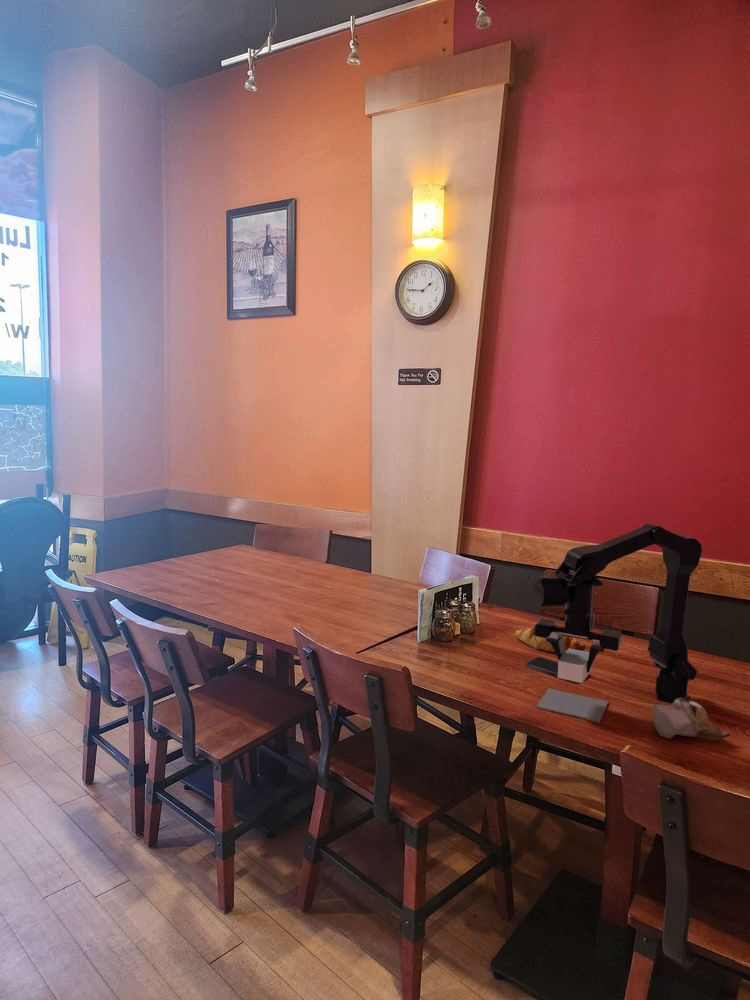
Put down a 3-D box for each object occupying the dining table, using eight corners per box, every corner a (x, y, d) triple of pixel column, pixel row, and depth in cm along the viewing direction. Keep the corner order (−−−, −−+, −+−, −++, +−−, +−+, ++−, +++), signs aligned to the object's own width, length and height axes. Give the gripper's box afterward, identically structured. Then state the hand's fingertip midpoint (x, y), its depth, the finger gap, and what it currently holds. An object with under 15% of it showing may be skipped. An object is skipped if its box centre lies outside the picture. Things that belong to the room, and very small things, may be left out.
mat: (607, 703, 154) (608, 701, 154) (599, 722, 144) (599, 720, 144) (548, 689, 161) (548, 688, 161) (536, 707, 151) (536, 706, 151)
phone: (575, 681, 164) (524, 663, 175) (575, 685, 164) (523, 667, 175) (590, 672, 170) (539, 655, 180) (590, 676, 170) (539, 659, 180)
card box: (582, 683, 146) (583, 666, 146) (557, 677, 149) (558, 660, 148) (591, 669, 154) (592, 653, 153) (568, 664, 157) (569, 648, 156)
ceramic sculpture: (642, 686, 143) (705, 687, 145) (636, 723, 144) (699, 723, 146) (669, 709, 133) (737, 710, 135) (663, 748, 134) (730, 749, 136)
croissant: (510, 652, 194) (505, 632, 190) (523, 629, 201) (518, 609, 197) (581, 668, 182) (577, 648, 178) (592, 643, 188) (589, 623, 184)
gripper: (627, 601, 152) (622, 665, 154) (546, 589, 160) (543, 650, 163) (620, 614, 142) (615, 682, 144) (534, 601, 151) (531, 665, 153)
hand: (575, 669), depth 151 cm, fingers closed on card box, 6 cm apart
